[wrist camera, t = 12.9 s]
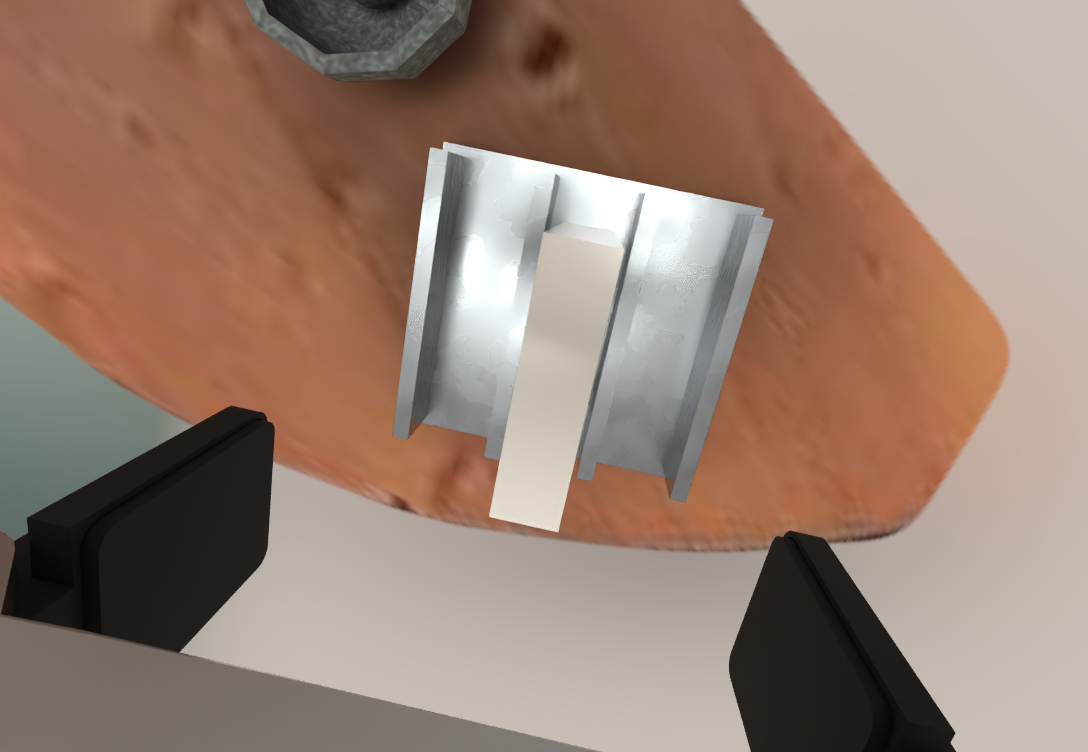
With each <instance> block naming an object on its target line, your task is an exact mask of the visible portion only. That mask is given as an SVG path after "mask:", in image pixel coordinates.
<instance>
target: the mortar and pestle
mask: <svg viewBox="0 0 1088 752" xmlns="http://www.w3.org/2000/svg"><path fill="white" fill-rule="evenodd" d="M245 3H246V5H247V7H248V10H249V12H250V14H251V17H252V19H253V21H254V23H255V26H256V27H257V28H258V29H260V30H261V31H262V32H264V33H265V34H267V35H268V36H269V37H271V38H272V39H274V40H275V41H276V42H278V43H279V44H281V45H282V46H284V47H285V48H286V49H288V50H289V51H291V52H292V53H293V54H295V55H296V56H298V57H299V58H300V59H302V60H303V61H305V62H306V63H307V64H309V65H310V66H312V67H313V68H315V69H316V70H317V71H319V72H320V73H322V74H323V75H326V76H328V77H330V78H332V79H334V80H336V81H347V82H360V81H379V80H397V79H416V78H417V77H418V76H419V75H420V74H421V73H422V72H423V71H424V70H425V69H426V68H427V67H428V66H430V65H431V64H432V63H433V62H434V61H435V60H436V59H437V58H438V57H439V56H440V55H441V54H442V53H443V52H444V51H445V50H446V49H447V48H449V47H450V46H451V45H452V44H453V43H454V42H455V41H456V40H457V39H458V38H459V37H460V36H461V35H462V34H463V33H464V32H465V31H466V26H467V22H468V17H469V12H470V8H471V3H472V0H245Z"/></svg>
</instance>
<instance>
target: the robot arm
mask: <svg viewBox="0 0 1088 752" xmlns="http://www.w3.org/2000/svg"><path fill="white" fill-rule="evenodd" d="M274 435H275V429H274V425H273V424H272V423H271V422H267V417H266V415H265V414H264V413H262V412H257V411H253V410H248V409H244V408H239V407H235V406H230V407H227V408H225V409H224V410H222V411H220V412H218V413H216V414H215V415H213V416H211V417H209V418H207V419H205V420H204V421H202V422H200V423H198V424H196V425H195V426H193V427H191V428H189V429H187V430H186V431H184V432H182V433H180V434H179V435H177V436H175V437H173V438H171V439H169V440H167V441H166V442H164V443H162V444H160V445H159V446H157V447H155V448H153V449H151V450H149V451H147V452H146V453H144V454H142V455H140V456H139V457H137V458H135V459H133V460H131V461H129V462H127V463H126V464H124V465H122V466H120V467H118V468H117V469H115V470H113V471H111V472H109V473H108V474H106V475H104V476H102V477H100V478H98V479H97V480H95V481H93V482H91V483H90V484H88V485H86V486H84V487H82V488H80V489H78V490H77V491H75V492H73V493H71V494H69V495H68V496H66V497H64V498H62V499H60V500H59V501H57V502H55V503H53V504H51V505H49V506H48V507H46V508H44V509H42V510H40V511H39V512H37V513H35V514H33V515H31V516H30V517H28V518H27V524H28V533H27V534H26V535H24V536H22V537H21V538H19V539H17V540H15V541H14V540H13V539H12V538H11V537H9V536H8V535H7V534H6V533H4V532H1V531H0V752H600V751H596V750H591V749H587V748H583V747H578V746H574V745H570V744H566V743H562V742H557V741H553V740H549V739H545V738H541V737H536V736H532V735H528V734H524V733H519V732H515V731H511V730H506V729H502V728H498V727H494V726H490V725H485V724H481V723H476V722H473V721H468V720H464V719H459V718H456V717H451V716H447V715H443V714H439V713H435V712H430V711H426V710H422V709H418V708H414V707H409V706H405V705H401V704H396V703H392V702H388V701H384V700H380V699H376V698H371V697H367V696H363V695H359V694H355V693H350V692H346V691H342V690H338V689H333V688H329V687H325V686H321V685H317V684H312V683H308V682H304V681H300V680H296V679H291V678H287V677H283V676H279V675H274V674H270V673H266V672H262V671H257V670H253V669H248V668H244V667H240V666H236V665H231V664H227V663H222V662H218V661H214V660H210V659H205V658H201V657H197V656H192V655H188V654H183V653H179V652H180V651H181V650H182V649H183V648H184V647H185V646H186V645H187V644H188V642H189V641H190V640H191V639H192V638H193V637H194V636H195V635H196V634H197V633H198V631H200V630H201V629H202V627H203V626H204V625H205V624H206V623H207V622H208V621H209V620H210V619H211V618H212V617H213V616H214V615H215V613H216V612H217V611H218V610H219V609H220V608H221V607H222V606H223V605H224V604H225V603H226V602H227V601H228V600H229V598H230V597H231V596H232V595H233V594H234V593H235V592H236V591H237V590H238V589H239V588H240V587H241V586H242V584H243V583H244V582H245V581H246V580H247V579H248V578H249V577H250V576H251V575H252V574H253V572H254V571H256V569H257V568H258V567H259V566H260V565H261V563H262V561H263V560H264V557H265V555H266V552H267V547H268V533H269V517H270V501H271V484H272V468H273V451H274ZM729 673H730V678H731V682H732V685H733V689H734V692H735V696H736V699H737V703H738V707H739V710H740V714H741V718H742V721H743V725H744V728H745V732H746V736H747V739H748V743H749V746H750V750H751V752H956V751H955V749H954V748H953V746H952V745H951V743H950V742H951V740H952V739H953V737H954V735H955V731H954V730H953V728H952V727H951V726H950V724H949V723H948V721H947V720H946V718H945V717H944V715H943V714H942V712H941V711H940V709H939V708H938V707H937V705H936V703H935V702H934V700H933V699H932V697H931V696H930V694H929V693H928V691H927V690H926V688H925V687H924V686H923V684H922V683H921V681H920V680H919V678H918V677H917V675H916V674H915V672H914V671H913V669H912V668H911V666H910V665H909V663H908V662H907V660H906V659H905V657H904V656H903V655H902V653H901V651H900V650H899V649H898V647H897V646H896V644H895V643H894V641H893V640H892V638H891V637H890V635H889V634H888V632H887V631H886V629H885V628H884V627H883V625H882V623H881V622H880V620H879V619H878V617H877V616H876V614H875V613H874V612H873V610H872V608H871V607H870V605H869V604H868V603H867V601H866V600H865V598H864V597H863V595H862V594H861V592H860V591H859V589H858V588H857V586H856V585H855V583H854V582H853V580H852V579H851V577H850V576H849V574H848V573H847V572H846V570H845V568H844V567H843V565H842V564H841V563H840V561H839V560H838V558H837V557H836V555H835V554H834V552H833V551H832V549H831V548H830V546H829V545H828V543H827V542H826V541H825V540H824V539H823V538H821V537H816V536H812V535H807V534H803V533H798V532H794V531H788V532H787V533H786V534H785V535H784V536H783V537H780V536H777V537H775V539H774V540H773V542H772V544H771V547H770V549H769V552H768V555H767V557H766V560H765V563H764V565H763V568H762V571H761V573H760V576H759V579H758V582H757V584H756V587H755V590H754V592H753V595H752V598H751V600H750V603H749V606H748V608H747V612H746V614H745V616H744V619H743V622H742V624H741V627H740V630H739V633H738V635H737V638H736V641H735V644H734V646H733V649H732V651H731V655H730V660H729Z"/></svg>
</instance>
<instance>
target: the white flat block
mask: <svg viewBox="0 0 1088 752" xmlns="http://www.w3.org/2000/svg"><path fill="white" fill-rule="evenodd" d="M623 253H624V247H623V246H622V244H621V242H620V240H619V239H618V237H617V235H616V233H615V232H614V231H610V230H605V229H600V228H596V227H591V226H586V225H581V224H576V223H572V222H567V221H565V222H563V223H561V224H559V225H557V226H555V227H553V228H551V229H549V230H547V231H545V232H543V237H542V242H541V248H540V253H539V258H538V263H537V269H536V274H535V279H534V284H533V289H532V295H531V300H530V305H529V310H528V316H527V321H526V326H525V331H524V337H523V342H522V347H521V352H520V358H519V363H518V368H517V373H516V379H515V384H514V389H513V394H512V400H511V405H510V410H509V415H508V420H507V426H506V431H505V436H504V441H503V447H502V452H501V457H500V462H499V468H498V473H497V478H496V483H495V489H494V494H493V499H492V504H491V510H490V515H489V517H492V518H497V519H501V520H506V521H510V522H515V523H519V524H523V525H528V526H532V527H537V528H541V529H546V530H550V531H555V532H558V530H559V526H560V522H561V517H562V513H563V509H564V505H565V500H566V496H567V492H568V488H569V483H570V479H571V475H572V471H573V466H574V462H575V458H576V453H577V449H578V445H579V441H580V436H581V432H582V428H583V424H584V419H585V415H586V411H587V407H588V402H589V398H590V394H591V390H592V385H593V381H594V377H595V372H596V368H597V364H598V360H599V355H600V351H601V347H602V343H603V338H604V334H605V330H606V326H607V321H608V317H609V313H610V309H611V304H612V300H613V296H614V291H615V287H616V283H617V279H618V274H619V270H620V266H621V262H622V257H623Z"/></svg>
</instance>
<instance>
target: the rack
mask: <svg viewBox="0 0 1088 752" xmlns="http://www.w3.org/2000/svg"><path fill="white" fill-rule="evenodd" d="M763 211H764V209H763V208H758V207H753V206H749V205H744V204H739V203H734V202H729V201H725V200H720V199H715V198H710V197H706V196H701V195H696V194H691V193H686V192H682V191H677V190H672V189H667V188H663V187H658V186H653V185H648V184H643V183H639V182H634V181H629V180H624V179H620V178H615V177H610V176H605V175H600V174H596V173H591V172H586V171H581V170H577V169H572V168H567V167H562V166H557V165H553V164H548V163H543V162H538V161H534V160H529V159H524V158H519V157H514V156H510V155H505V154H500V153H495V152H491V151H486V150H481V149H476V148H471V147H467V146H462V145H457V144H452V143H448V142H444V144H443V150H441V149H436V148H432V147H430V153H429V161H428V168H427V176H426V184H425V191H424V199H423V207H422V214H421V222H420V229H419V237H418V245H417V252H416V260H415V268H414V275H413V283H412V291H411V298H410V306H409V313H408V321H407V329H406V336H405V344H404V352H403V359H402V367H401V375H400V382H399V390H398V397H397V405H396V413H395V420H394V428H393V437H398V438H402V439H406V440H408V439H409V437H410V436H411V435H412V434H413V433H414V431H415V430H416V429H417V428H418V426H419V425H420V424H421V423H425V424H430V425H434V426H439V427H443V428H448V429H452V430H457V431H461V432H465V433H470V434H474V435H479V436H483V437H488V438H487V444H486V449H485V454H484V457H486V458H491V459H495V460H500V457H501V452H502V447H503V441H504V436H505V431H506V426H507V420H508V415H509V410H510V405H511V400H512V394H513V389H514V384H515V379H516V373H517V368H518V363H519V358H520V352H521V347H522V342H523V337H524V331H525V326H526V321H527V316H528V310H529V305H530V300H531V295H532V289H533V284H534V279H535V274H536V269H537V263H538V258H539V253H540V248H541V242H542V237H543V232H545V231H547V230H549V229H551V228H553V227H555V226H557V225H559V224H561V223H563V222H565V221H567V222H572V223H576V224H581V225H586V226H591V227H596V228H600V229H605V230H610V231H614V232H615V233H616V235H617V237H618V239H619V240H620V242H621V244H622V246H623V247H624V253H623V257H622V262H621V266H620V270H619V274H618V279H617V283H616V287H615V291H614V296H613V300H612V304H611V309H610V313H609V317H608V321H607V326H606V330H605V334H604V338H603V343H602V347H601V351H600V355H599V360H598V364H597V368H596V372H595V377H594V381H593V385H592V390H591V394H590V398H589V402H588V407H587V411H586V415H585V419H584V424H583V428H582V432H581V436H580V441H579V445H578V449H577V453H576V457H577V458H578V466H577V478H579V479H584V480H588V481H592V479H593V475H594V472H595V468H596V464H597V462H599V463H603V464H608V465H612V466H617V467H621V468H626V469H630V470H635V471H639V472H643V473H648V474H652V475H657V476H661V477H665V481H666V485H667V489H668V493H669V497H670V499H672V500H677V501H681V502H686V500H687V496H688V493H689V490H690V487H691V484H692V480H693V477H694V474H695V471H696V467H697V464H698V461H699V458H700V455H701V451H702V448H703V445H704V442H705V439H706V435H707V432H708V429H709V426H710V423H711V419H712V416H713V413H714V410H715V407H716V403H717V400H718V397H719V394H720V390H721V387H722V384H723V381H724V378H725V374H726V371H727V368H728V365H729V362H730V358H731V355H732V352H733V349H734V346H735V342H736V339H737V336H738V333H739V330H740V326H741V323H742V320H743V317H744V313H745V310H746V307H747V304H748V301H749V297H750V294H751V291H752V288H753V285H754V281H755V278H756V275H757V272H758V269H759V265H760V262H761V259H762V256H763V252H764V249H765V246H766V243H767V240H768V236H769V233H770V230H771V227H772V224H773V220H774V219H770V218H765V217H762V215H763Z"/></svg>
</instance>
